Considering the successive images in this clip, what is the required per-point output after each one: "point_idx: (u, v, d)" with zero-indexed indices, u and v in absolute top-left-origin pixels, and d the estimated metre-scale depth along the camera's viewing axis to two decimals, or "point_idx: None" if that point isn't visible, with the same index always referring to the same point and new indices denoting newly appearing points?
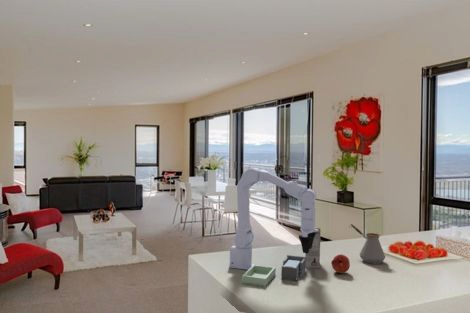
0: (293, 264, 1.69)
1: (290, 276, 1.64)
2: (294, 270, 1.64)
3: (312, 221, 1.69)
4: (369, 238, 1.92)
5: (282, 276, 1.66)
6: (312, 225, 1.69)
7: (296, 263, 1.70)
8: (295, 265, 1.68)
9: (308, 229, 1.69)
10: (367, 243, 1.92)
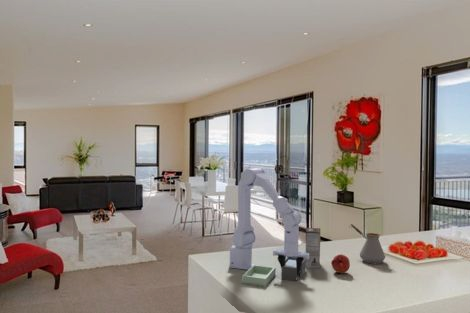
0: (293, 264, 1.69)
1: (290, 276, 1.64)
2: (294, 270, 1.64)
3: (285, 244, 1.66)
4: (369, 238, 1.92)
5: (282, 276, 1.66)
6: (285, 248, 1.66)
7: None
8: (295, 265, 1.68)
9: (283, 251, 1.67)
10: (367, 243, 1.92)
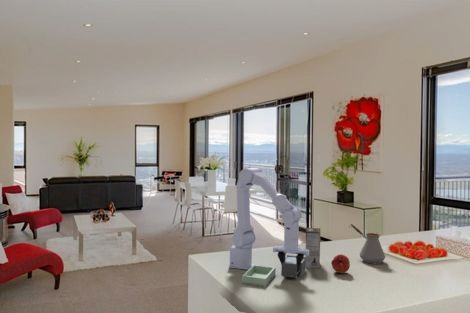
0: (293, 261, 1.69)
1: (290, 273, 1.64)
2: (294, 266, 1.64)
3: (285, 240, 1.66)
4: (369, 238, 1.92)
5: (282, 272, 1.65)
6: (285, 244, 1.66)
7: None
8: (295, 261, 1.67)
9: (283, 247, 1.67)
10: (367, 243, 1.92)
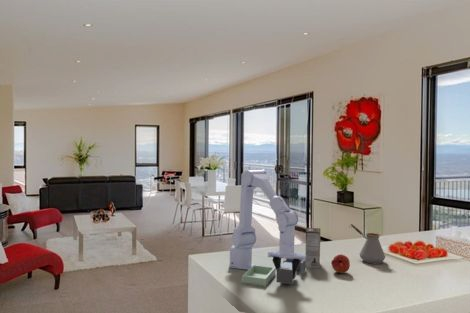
0: (289, 266, 1.61)
1: (286, 279, 1.56)
2: (290, 272, 1.56)
3: (281, 245, 1.58)
4: (369, 238, 1.92)
5: (277, 279, 1.57)
6: (280, 249, 1.58)
7: None
8: (291, 267, 1.60)
9: (279, 252, 1.59)
10: (367, 243, 1.92)
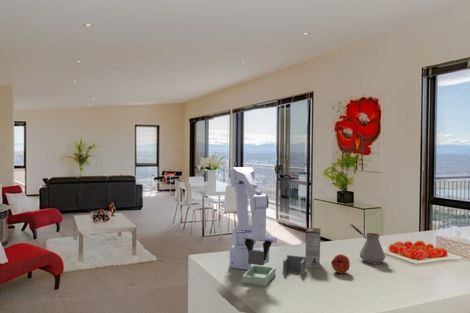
0: (261, 250, 1.65)
1: (257, 260, 1.60)
2: (261, 254, 1.60)
3: (252, 227, 1.61)
4: (369, 238, 1.92)
5: (249, 260, 1.61)
6: (252, 232, 1.62)
7: None
8: None
9: (251, 234, 1.63)
10: (367, 243, 1.92)
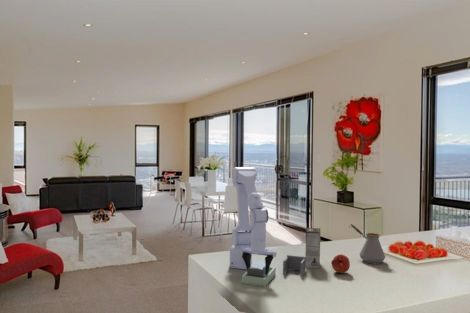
0: (260, 265, 1.64)
1: None
2: (260, 272, 1.59)
3: (252, 241, 1.61)
4: (369, 238, 1.92)
5: None
6: (251, 246, 1.62)
7: (264, 264, 1.66)
8: (262, 266, 1.63)
9: (250, 248, 1.63)
10: (367, 243, 1.92)
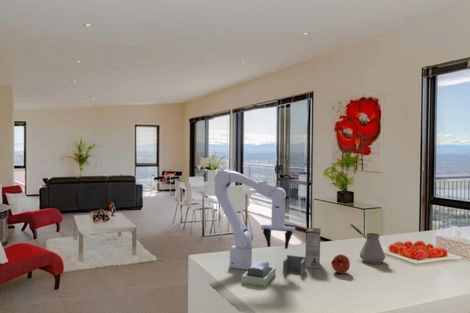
0: (260, 265, 1.64)
1: None
2: (260, 272, 1.59)
3: (272, 218, 1.75)
4: (369, 238, 1.92)
5: None
6: (272, 222, 1.76)
7: (264, 264, 1.66)
8: (262, 266, 1.63)
9: (271, 225, 1.77)
10: (367, 243, 1.92)
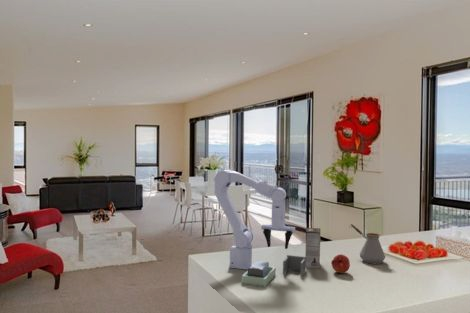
0: (260, 265, 1.64)
1: None
2: (260, 272, 1.59)
3: (272, 218, 1.75)
4: (369, 238, 1.92)
5: None
6: (272, 222, 1.76)
7: (264, 264, 1.66)
8: (262, 266, 1.63)
9: (271, 225, 1.77)
10: (367, 243, 1.92)
